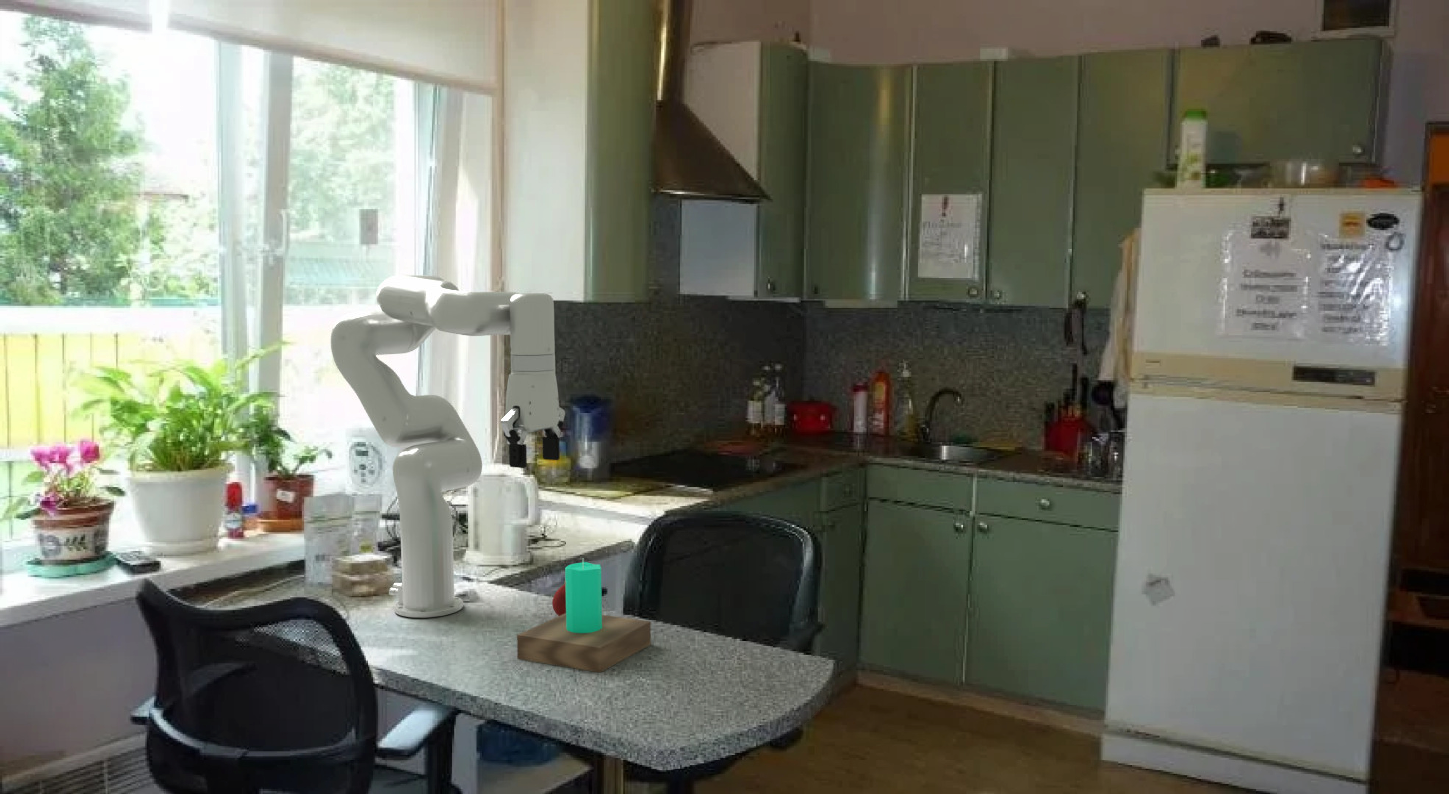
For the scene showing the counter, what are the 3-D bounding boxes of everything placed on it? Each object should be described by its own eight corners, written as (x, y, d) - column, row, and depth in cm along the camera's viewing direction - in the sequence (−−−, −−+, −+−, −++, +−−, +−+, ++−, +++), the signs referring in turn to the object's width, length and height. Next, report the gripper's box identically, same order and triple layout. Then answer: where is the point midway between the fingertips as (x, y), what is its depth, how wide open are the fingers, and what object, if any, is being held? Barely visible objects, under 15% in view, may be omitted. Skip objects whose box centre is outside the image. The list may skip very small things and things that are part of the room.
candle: (586, 635, 189) (585, 563, 188) (558, 629, 193) (557, 558, 191) (609, 626, 194) (608, 555, 193) (581, 621, 198) (580, 551, 196)
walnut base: (517, 658, 190) (516, 635, 190) (571, 632, 204) (571, 610, 204) (600, 672, 183) (599, 647, 183) (650, 644, 197) (650, 621, 197)
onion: (588, 618, 213) (587, 576, 212) (581, 627, 208) (580, 584, 207) (557, 617, 214) (556, 575, 213) (549, 627, 208) (548, 583, 207)
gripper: (544, 361, 209) (546, 455, 211) (484, 367, 193) (486, 469, 195) (579, 362, 206) (580, 458, 207) (520, 368, 190) (523, 471, 192)
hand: (535, 463), depth 201 cm, fingers open, 9 cm apart
